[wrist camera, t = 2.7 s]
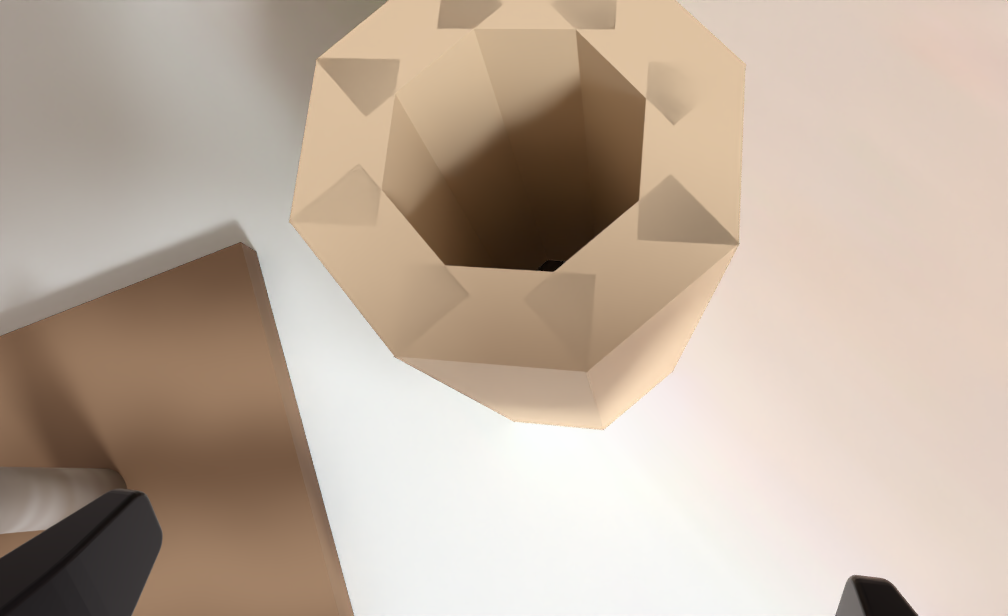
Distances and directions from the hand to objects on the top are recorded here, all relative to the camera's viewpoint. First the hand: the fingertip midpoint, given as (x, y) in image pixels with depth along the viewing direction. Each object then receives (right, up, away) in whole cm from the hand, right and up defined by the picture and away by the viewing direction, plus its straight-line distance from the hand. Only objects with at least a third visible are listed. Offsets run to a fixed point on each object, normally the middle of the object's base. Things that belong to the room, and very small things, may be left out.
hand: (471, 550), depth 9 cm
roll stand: (-11, -3, +13) cm, 18 cm away
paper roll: (+2, +3, +13) cm, 13 cm away
